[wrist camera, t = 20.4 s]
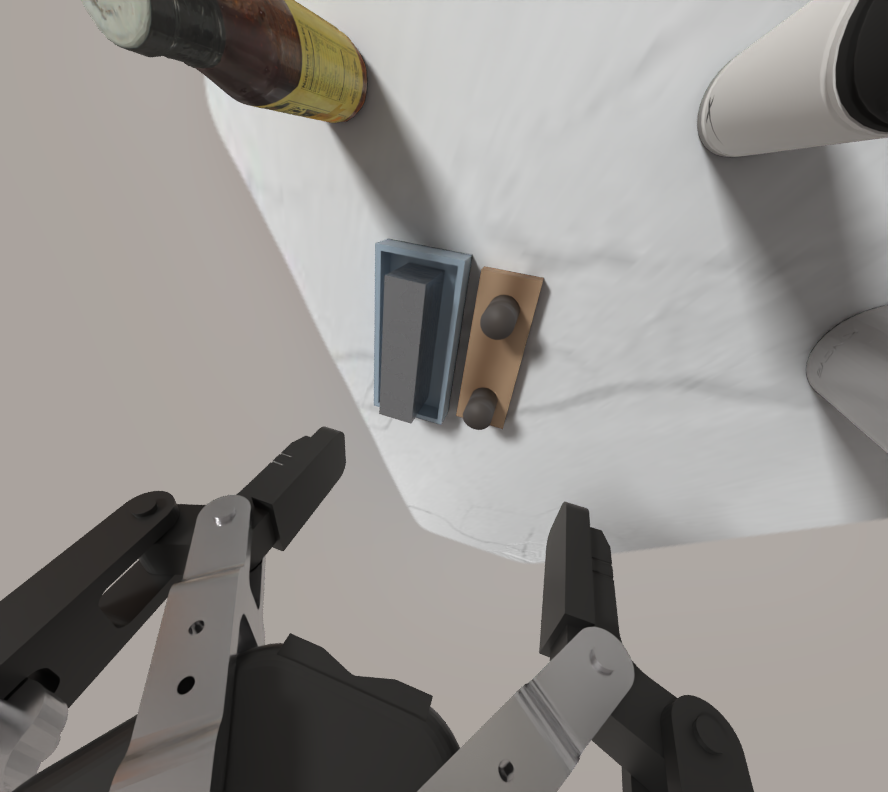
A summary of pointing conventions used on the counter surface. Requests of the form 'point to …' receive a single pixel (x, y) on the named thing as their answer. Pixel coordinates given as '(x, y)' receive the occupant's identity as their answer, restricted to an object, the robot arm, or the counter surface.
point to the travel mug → (803, 83)
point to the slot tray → (450, 315)
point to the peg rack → (496, 345)
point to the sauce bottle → (247, 50)
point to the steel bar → (409, 338)
